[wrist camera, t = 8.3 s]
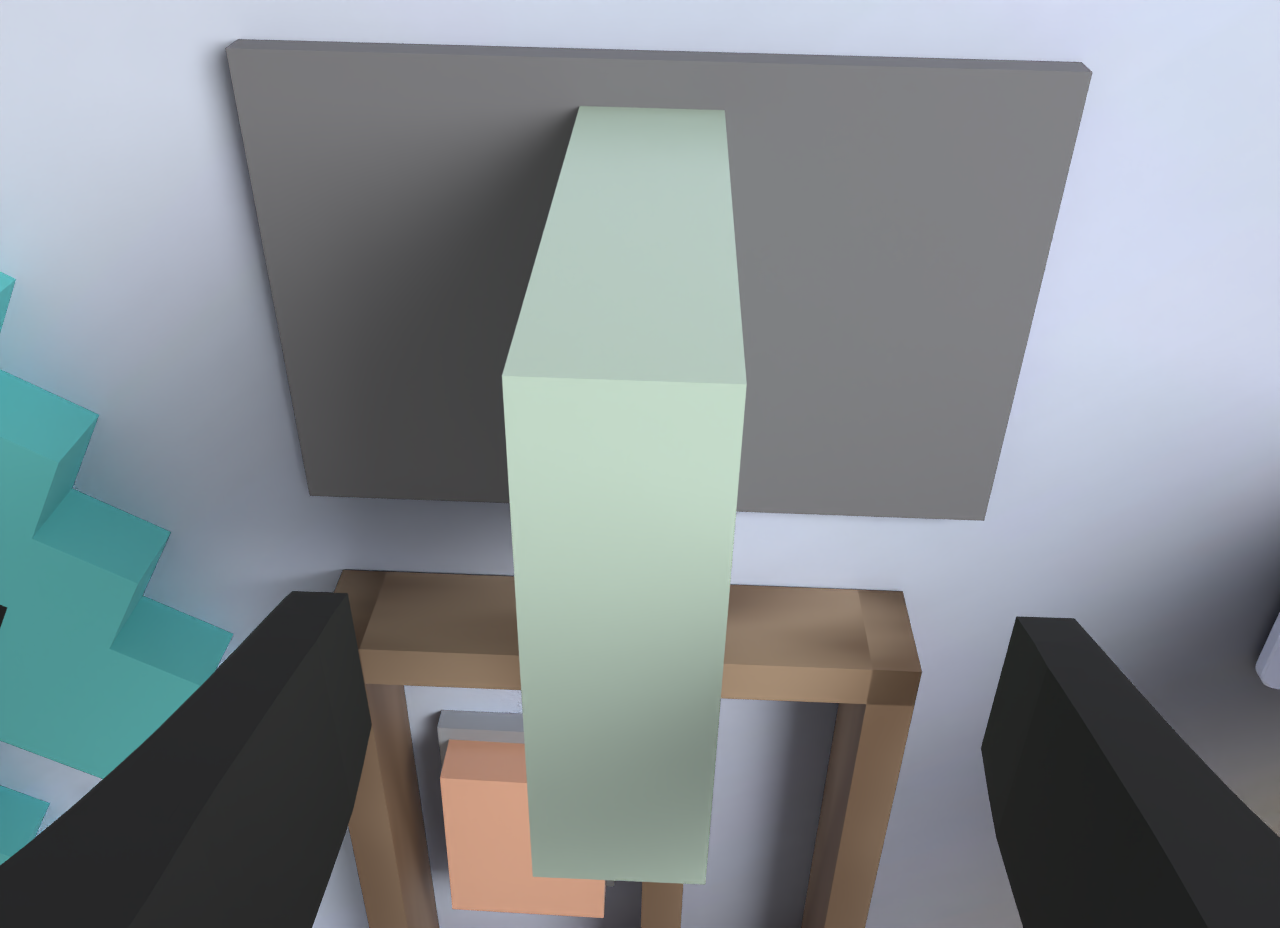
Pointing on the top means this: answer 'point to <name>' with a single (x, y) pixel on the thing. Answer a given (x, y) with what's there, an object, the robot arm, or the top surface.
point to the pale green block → (627, 494)
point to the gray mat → (764, 237)
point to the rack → (753, 669)
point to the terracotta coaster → (500, 837)
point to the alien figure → (78, 607)
